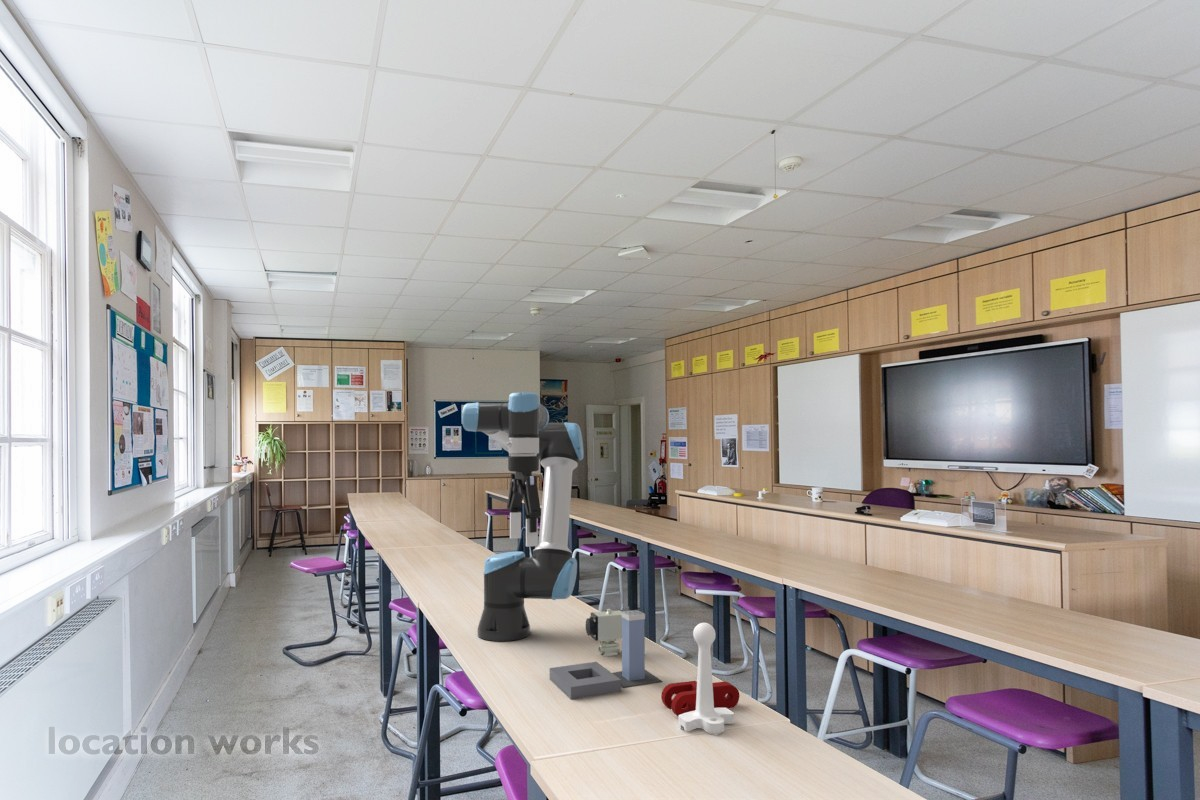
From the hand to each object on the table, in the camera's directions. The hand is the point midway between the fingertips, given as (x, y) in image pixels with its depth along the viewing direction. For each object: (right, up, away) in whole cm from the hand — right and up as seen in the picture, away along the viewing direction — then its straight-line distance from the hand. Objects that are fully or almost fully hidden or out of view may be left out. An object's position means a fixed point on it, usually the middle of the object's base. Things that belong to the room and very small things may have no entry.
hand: (523, 542), depth 175 cm
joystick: (+40, -30, -34) cm, 61 cm away
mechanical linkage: (+40, -31, -25) cm, 56 cm away
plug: (+27, -31, -6) cm, 41 cm away
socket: (+15, -31, -11) cm, 36 cm away
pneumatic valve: (+21, -32, +13) cm, 41 cm away
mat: (+27, -31, -6) cm, 42 cm away
